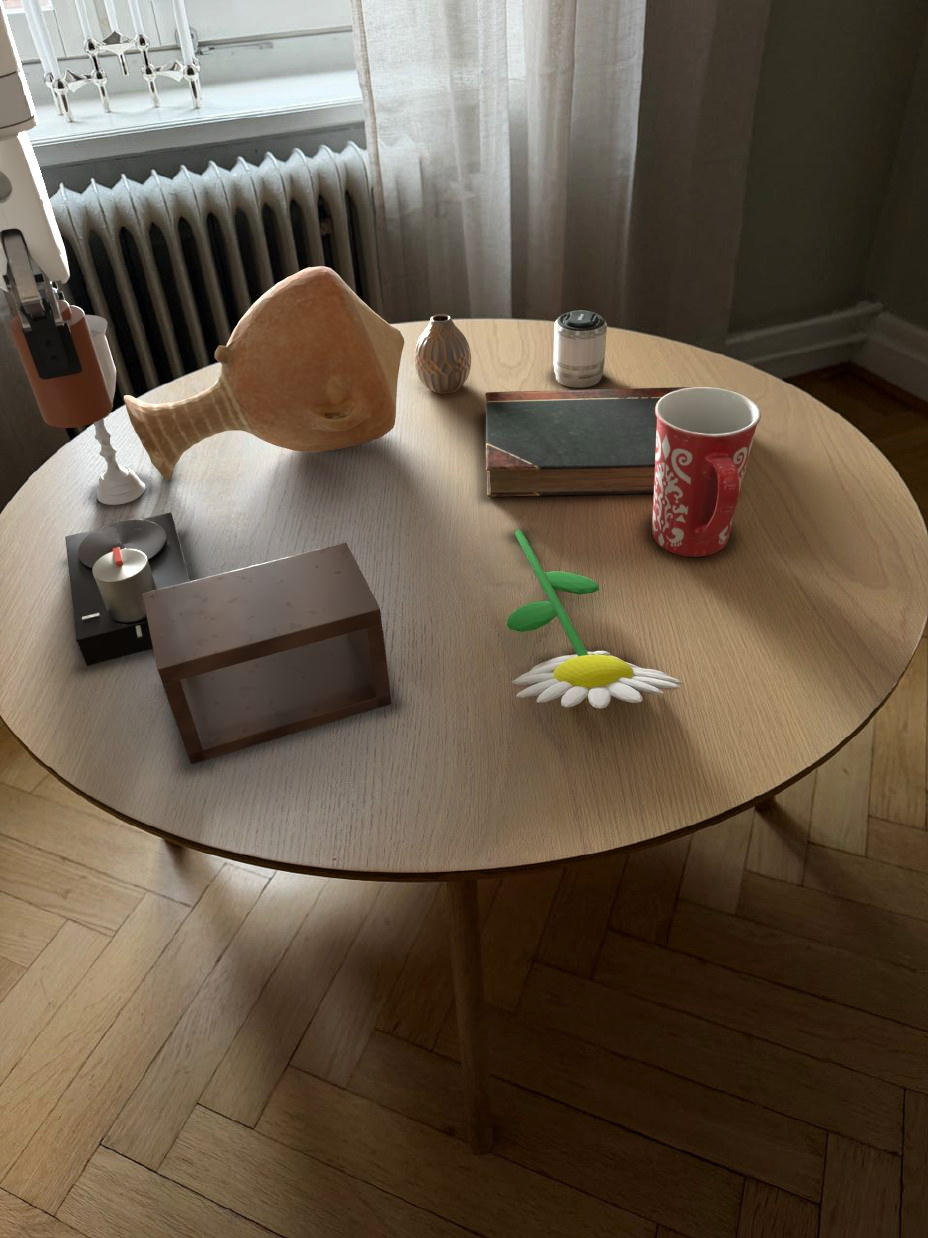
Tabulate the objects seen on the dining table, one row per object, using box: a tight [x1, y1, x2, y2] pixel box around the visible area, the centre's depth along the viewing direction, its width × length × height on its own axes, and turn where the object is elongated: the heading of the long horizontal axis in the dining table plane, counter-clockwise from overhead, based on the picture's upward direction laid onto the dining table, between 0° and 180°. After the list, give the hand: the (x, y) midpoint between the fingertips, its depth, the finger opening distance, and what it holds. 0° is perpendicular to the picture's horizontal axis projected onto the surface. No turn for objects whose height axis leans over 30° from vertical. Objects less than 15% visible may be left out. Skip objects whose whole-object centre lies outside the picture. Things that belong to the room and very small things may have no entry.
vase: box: [414, 313, 472, 394], centre depth 112 cm, size 7×7×9 cm
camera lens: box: [553, 309, 608, 389], centre depth 112 cm, size 6×6×8 cm
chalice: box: [85, 314, 146, 506], centre depth 93 cm, size 7×7×18 cm
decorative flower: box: [505, 529, 684, 710], centre depth 78 cm, size 13×5×30 cm
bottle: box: [8, 288, 114, 429], centre depth 73 cm, size 6×6×10 cm
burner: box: [78, 518, 167, 570], centre depth 86 cm, size 8×8×1 cm
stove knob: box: [92, 547, 157, 623], centre depth 77 cm, size 4×4×5 cm
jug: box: [123, 265, 406, 481], centre depth 98 cm, size 20×19×30 cm
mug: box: [651, 386, 762, 558], centre depth 83 cm, size 13×9×14 cm
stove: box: [64, 511, 191, 667], centre depth 83 cm, size 10×18×3 cm, turn 21°
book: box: [484, 386, 696, 498], centre depth 100 cm, size 17×4×25 cm
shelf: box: [142, 542, 393, 765], centre depth 71 cm, size 16×9×10 cm, turn 111°
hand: (58, 356), depth 74 cm, fingers closed on bottle, 5 cm apart
